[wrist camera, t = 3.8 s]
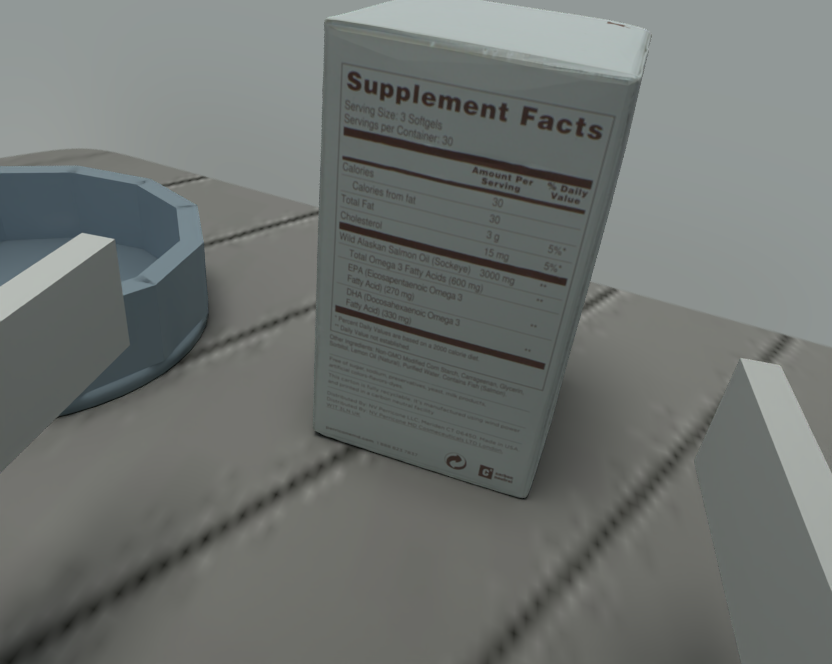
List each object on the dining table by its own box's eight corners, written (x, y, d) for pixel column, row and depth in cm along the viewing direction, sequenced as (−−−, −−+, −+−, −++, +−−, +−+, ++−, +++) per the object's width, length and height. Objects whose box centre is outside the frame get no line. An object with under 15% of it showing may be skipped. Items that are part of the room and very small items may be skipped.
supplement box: (385, 327, 28) (420, -14, 21) (563, 377, 26) (662, 25, 20) (303, 435, 22) (314, 9, 15) (527, 509, 20) (651, 68, 14)
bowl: (258, 273, 31) (256, 197, 29) (87, 466, 20) (67, 367, 18) (-2, 222, 32) (-20, 146, 30) (-292, 377, 21) (-349, 276, 19)
